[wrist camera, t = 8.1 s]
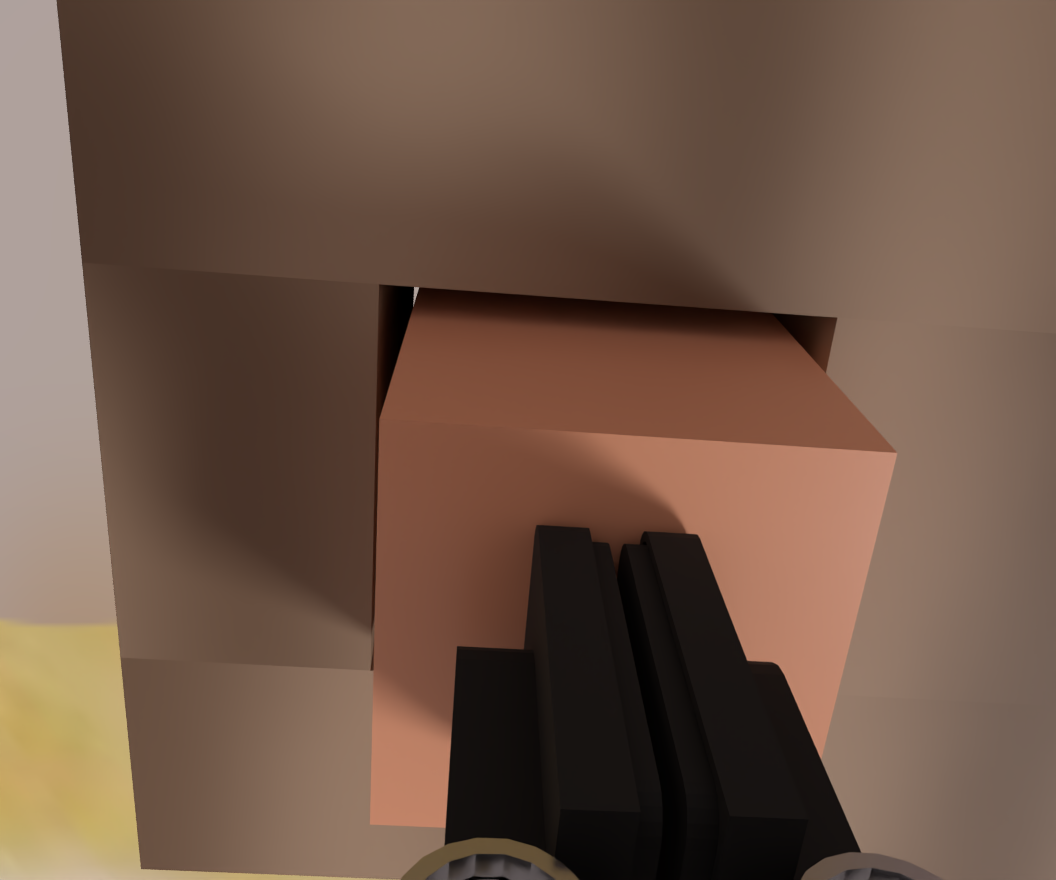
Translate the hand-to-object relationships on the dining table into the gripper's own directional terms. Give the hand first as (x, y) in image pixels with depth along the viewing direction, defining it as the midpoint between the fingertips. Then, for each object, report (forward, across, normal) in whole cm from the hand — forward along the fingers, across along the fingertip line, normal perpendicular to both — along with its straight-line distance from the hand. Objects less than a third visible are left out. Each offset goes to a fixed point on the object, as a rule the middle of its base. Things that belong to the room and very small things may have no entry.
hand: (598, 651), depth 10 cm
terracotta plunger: (+8, 0, 0) cm, 8 cm away
